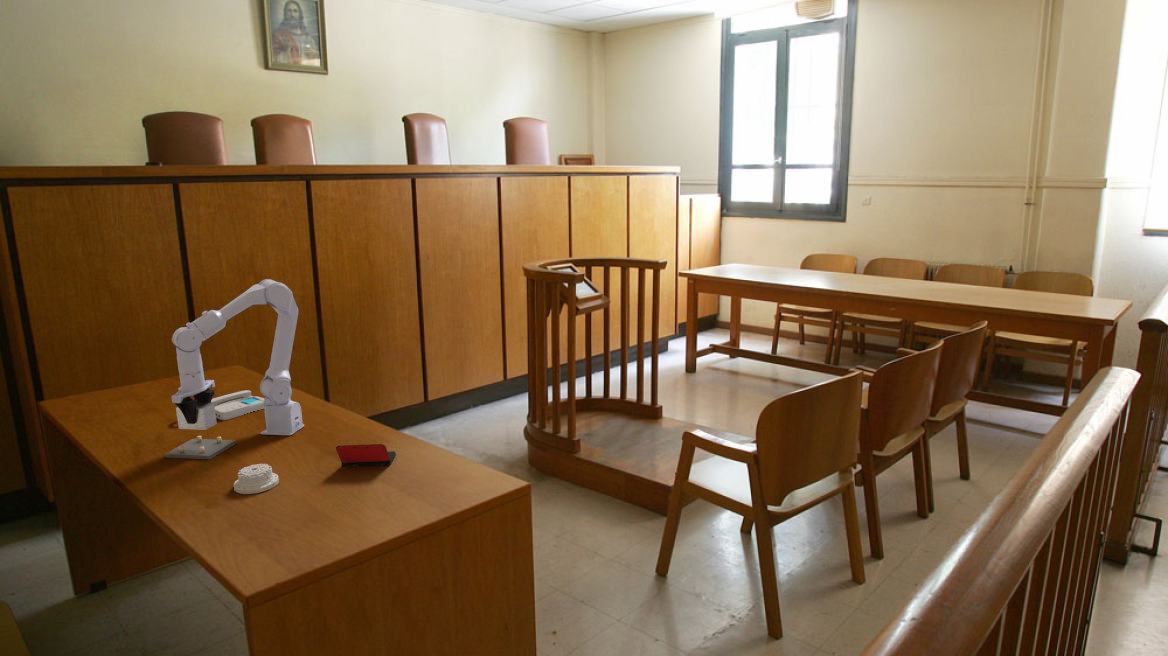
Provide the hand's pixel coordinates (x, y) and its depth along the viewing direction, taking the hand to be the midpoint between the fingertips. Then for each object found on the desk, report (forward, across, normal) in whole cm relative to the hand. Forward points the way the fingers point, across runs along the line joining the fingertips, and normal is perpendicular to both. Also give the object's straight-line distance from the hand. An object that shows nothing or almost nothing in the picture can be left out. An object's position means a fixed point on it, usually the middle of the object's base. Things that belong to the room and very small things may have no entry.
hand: (198, 420), depth 195 cm
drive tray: (+8, +1, 0) cm, 8 cm away
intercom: (+9, -27, -13) cm, 31 cm away
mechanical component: (+9, +19, +29) cm, 36 cm away
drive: (+2, 0, 0) cm, 2 cm away
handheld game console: (+9, +4, +50) cm, 51 cm away
